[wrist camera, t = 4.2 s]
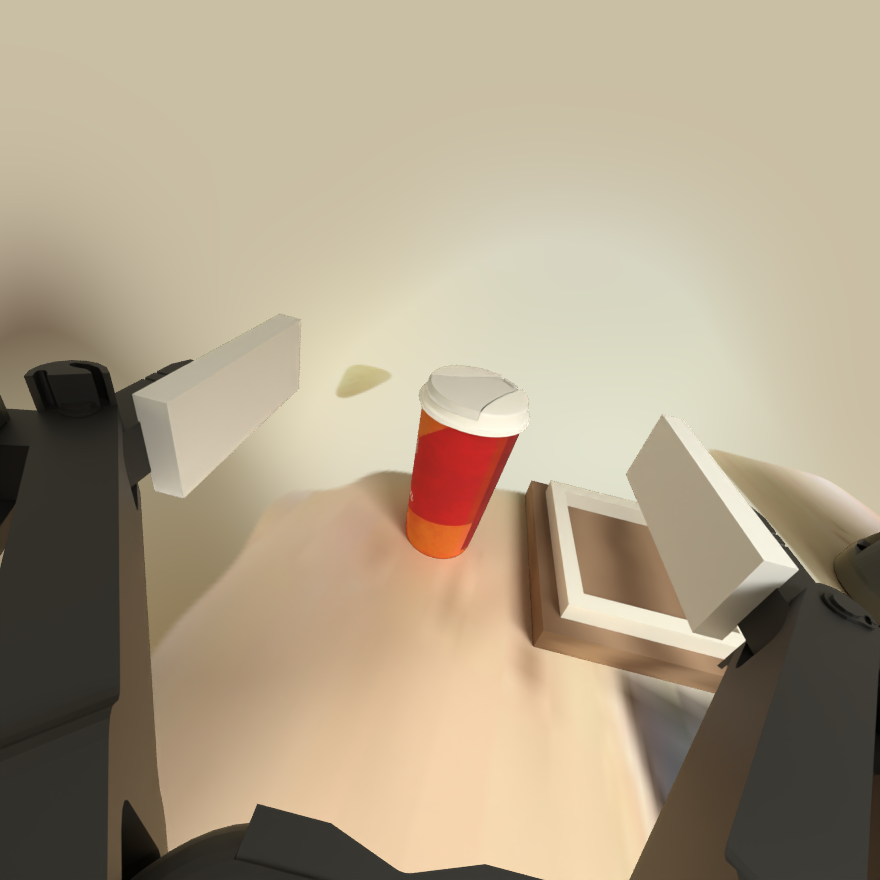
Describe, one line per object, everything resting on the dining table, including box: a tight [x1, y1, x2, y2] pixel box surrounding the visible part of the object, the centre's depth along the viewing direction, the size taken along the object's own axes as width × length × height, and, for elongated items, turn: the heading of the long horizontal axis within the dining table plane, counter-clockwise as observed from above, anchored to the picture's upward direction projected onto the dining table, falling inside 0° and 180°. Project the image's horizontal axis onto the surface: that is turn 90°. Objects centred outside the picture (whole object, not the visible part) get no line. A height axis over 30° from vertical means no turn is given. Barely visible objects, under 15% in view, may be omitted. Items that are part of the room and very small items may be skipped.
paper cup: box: [406, 365, 530, 559], centre depth 30 cm, size 8×8×14 cm
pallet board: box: [525, 481, 746, 693], centre depth 33 cm, size 16×16×4 cm
